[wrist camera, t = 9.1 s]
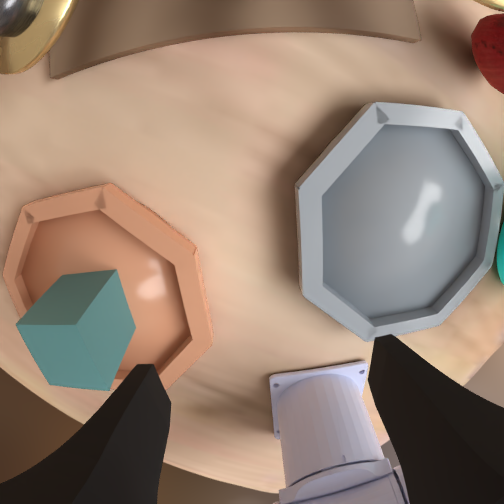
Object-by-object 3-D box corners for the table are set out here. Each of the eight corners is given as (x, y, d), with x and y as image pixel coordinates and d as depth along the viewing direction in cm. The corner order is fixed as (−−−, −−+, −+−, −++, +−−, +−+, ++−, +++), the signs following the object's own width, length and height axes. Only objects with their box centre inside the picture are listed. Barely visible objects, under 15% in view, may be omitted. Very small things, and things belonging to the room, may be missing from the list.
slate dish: (468, 303, 21) (479, 314, 19) (298, 335, 21) (303, 352, 19) (489, 118, 15) (505, 120, 13) (286, 104, 15) (291, 101, 14)
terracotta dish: (224, 372, 22) (223, 389, 21) (63, 370, 22) (55, 383, 21) (186, 168, 16) (180, 172, 15) (-1, 210, 16) (-16, 217, 15)
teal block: (136, 327, 20) (109, 390, 14) (83, 329, 20) (49, 384, 14) (117, 269, 18) (75, 324, 12) (62, 275, 18) (15, 324, 12)
